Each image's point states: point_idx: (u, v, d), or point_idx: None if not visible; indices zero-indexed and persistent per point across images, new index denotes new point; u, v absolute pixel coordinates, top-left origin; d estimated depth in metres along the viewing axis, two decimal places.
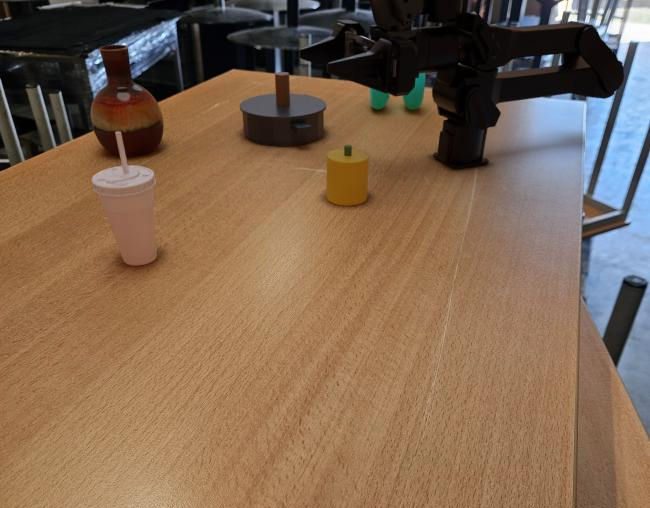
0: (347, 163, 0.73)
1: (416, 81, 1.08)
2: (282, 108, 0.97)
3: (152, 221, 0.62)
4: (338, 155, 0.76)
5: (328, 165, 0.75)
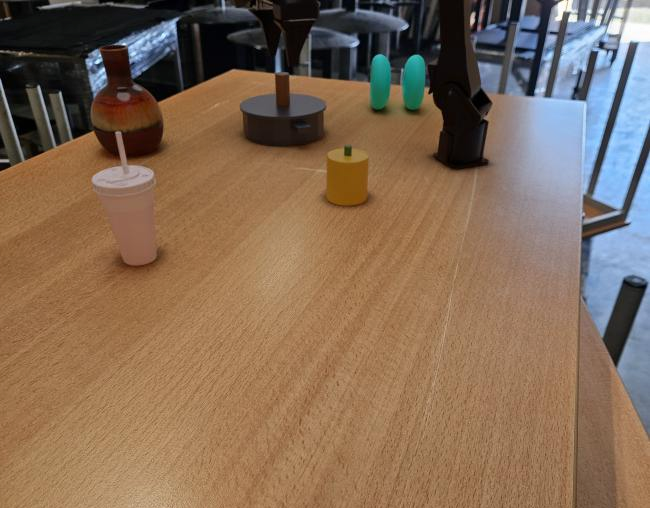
0: (347, 163, 0.73)
1: (416, 81, 1.08)
2: (282, 108, 0.97)
3: (152, 221, 0.62)
4: (338, 155, 0.76)
5: (328, 165, 0.75)
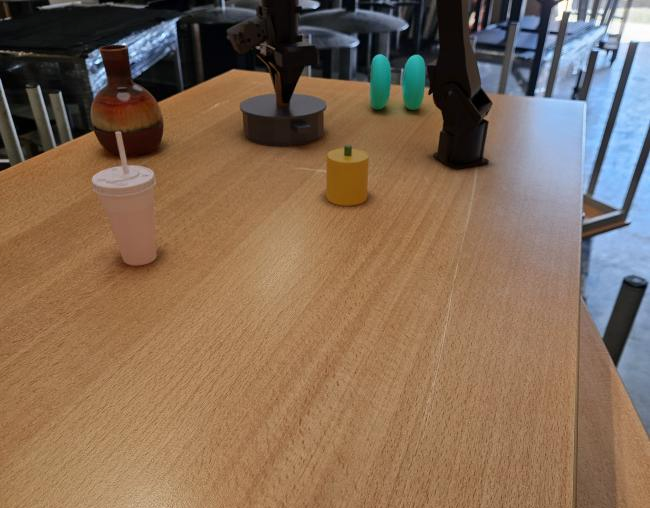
0: (347, 163, 0.73)
1: (416, 81, 1.08)
2: (282, 108, 0.97)
3: (152, 221, 0.62)
4: (338, 155, 0.76)
5: (328, 165, 0.75)
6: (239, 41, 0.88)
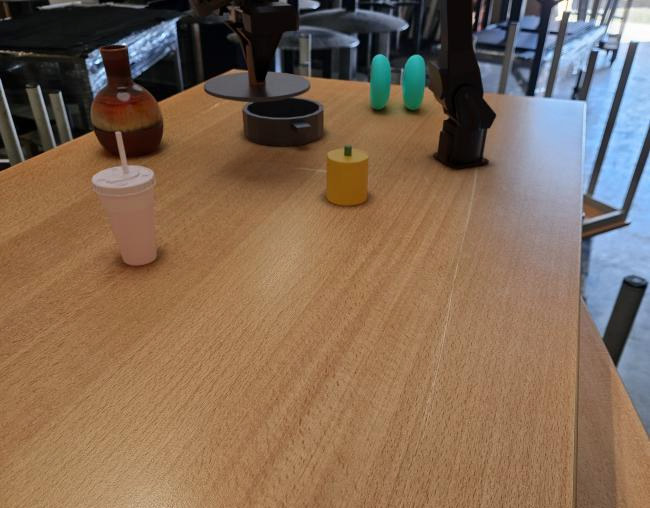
0: (347, 163, 0.73)
1: (416, 81, 1.08)
2: (255, 88, 0.79)
3: (152, 221, 0.62)
4: (338, 155, 0.76)
5: (328, 165, 0.75)
6: (197, 0, 0.69)
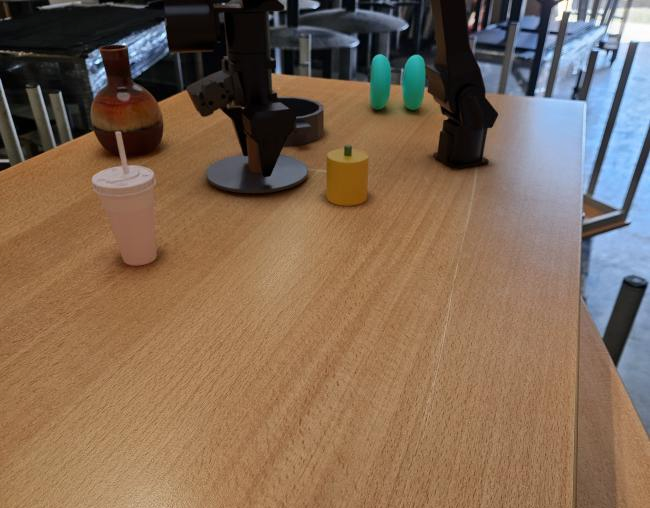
0: (347, 163, 0.73)
1: (416, 81, 1.08)
2: (255, 176, 0.82)
3: (152, 221, 0.62)
4: (338, 155, 0.76)
5: (328, 165, 0.75)
6: (200, 103, 0.73)
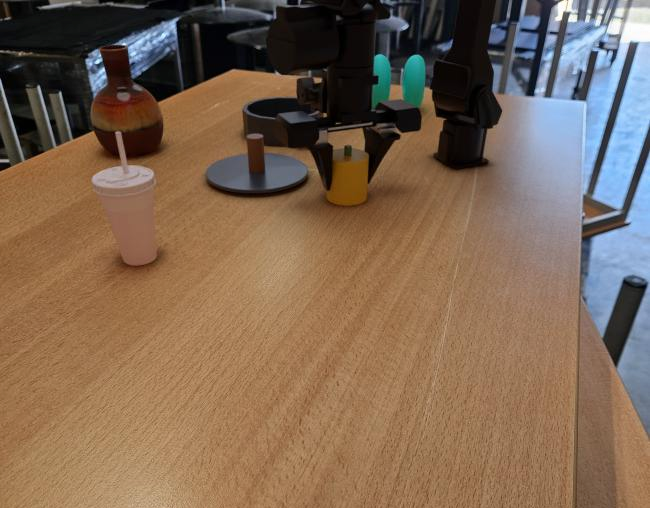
0: (347, 163, 0.73)
1: (416, 81, 1.08)
2: (255, 176, 0.82)
3: (152, 221, 0.62)
4: (338, 155, 0.76)
5: None
6: None
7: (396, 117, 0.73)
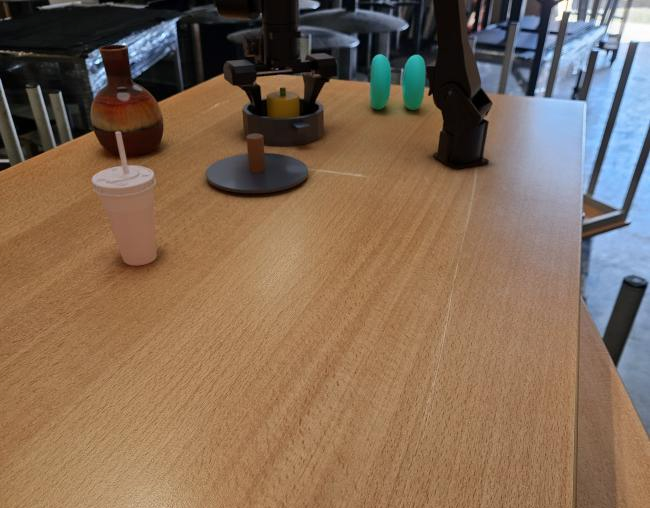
0: (280, 100, 0.96)
1: (416, 81, 1.08)
2: (255, 176, 0.82)
3: (152, 221, 0.62)
4: (275, 95, 0.98)
5: (267, 103, 0.98)
6: None
7: (317, 65, 0.95)
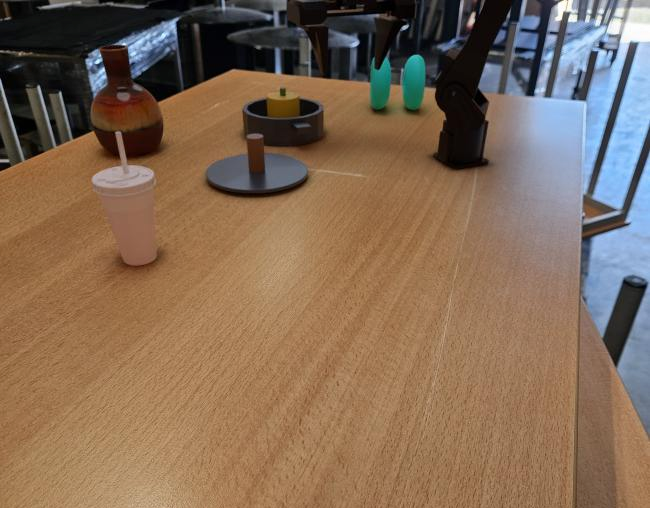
0: (280, 100, 0.96)
1: (416, 81, 1.08)
2: (255, 176, 0.82)
3: (152, 221, 0.62)
4: (275, 95, 0.98)
5: (267, 103, 0.98)
6: None
7: (394, 4, 0.83)
